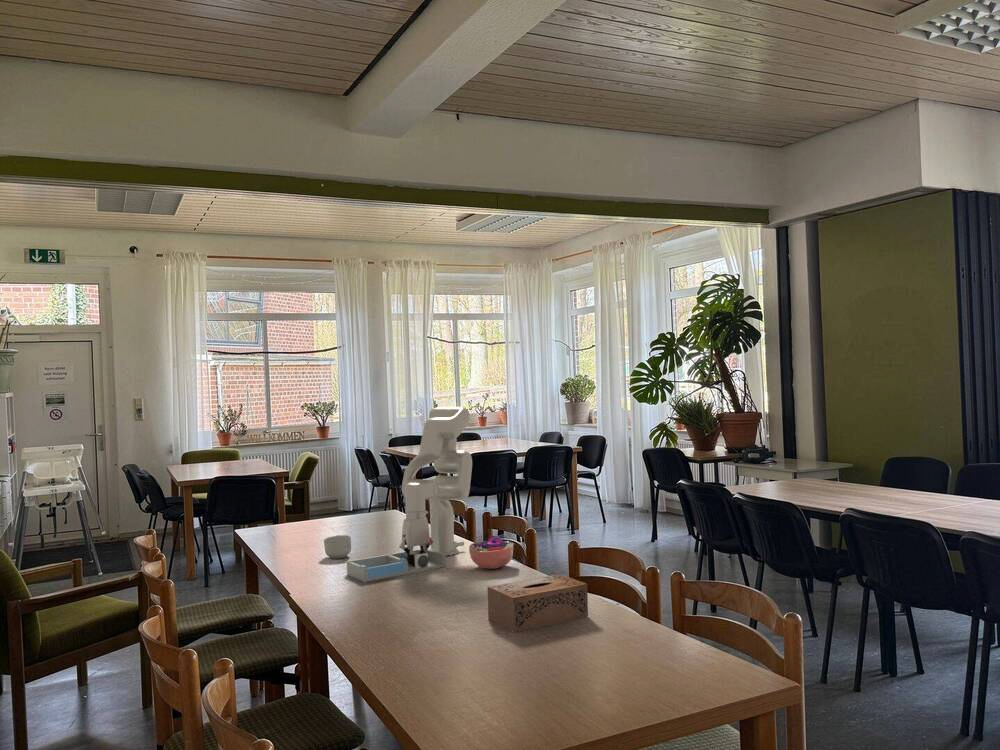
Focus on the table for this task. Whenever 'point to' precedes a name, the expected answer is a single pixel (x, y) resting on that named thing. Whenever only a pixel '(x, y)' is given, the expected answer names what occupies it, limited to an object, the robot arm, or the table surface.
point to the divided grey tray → (390, 565)
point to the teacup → (337, 546)
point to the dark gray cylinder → (419, 559)
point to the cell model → (491, 553)
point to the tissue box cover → (537, 602)
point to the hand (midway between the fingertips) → (416, 562)
